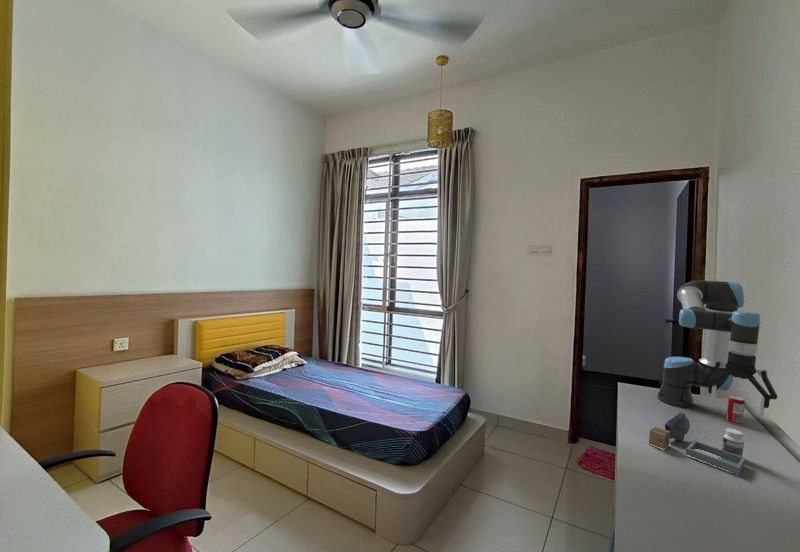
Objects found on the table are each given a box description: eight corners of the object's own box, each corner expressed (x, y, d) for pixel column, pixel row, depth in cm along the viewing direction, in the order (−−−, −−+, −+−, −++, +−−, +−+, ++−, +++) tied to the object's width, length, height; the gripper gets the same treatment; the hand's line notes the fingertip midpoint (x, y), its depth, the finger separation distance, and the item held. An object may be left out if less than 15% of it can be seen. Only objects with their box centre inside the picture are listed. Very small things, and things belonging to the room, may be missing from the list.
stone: (679, 447, 140) (682, 423, 140) (661, 441, 145) (663, 417, 144) (689, 437, 149) (691, 414, 148) (671, 431, 154) (673, 408, 153)
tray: (693, 447, 141) (694, 440, 141) (744, 466, 129) (745, 458, 129) (685, 456, 134) (686, 448, 134) (738, 476, 123) (739, 467, 123)
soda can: (731, 419, 169) (733, 394, 168) (745, 424, 164) (748, 399, 163) (723, 420, 167) (726, 395, 166) (737, 425, 162) (740, 400, 161)
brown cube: (654, 440, 145) (655, 426, 145) (668, 446, 141) (670, 431, 141) (648, 444, 142) (650, 430, 141) (663, 450, 138) (665, 435, 137)
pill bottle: (722, 450, 140) (724, 425, 139) (742, 457, 136) (745, 431, 135) (720, 455, 136) (723, 430, 135) (741, 462, 132) (744, 436, 131)
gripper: (696, 346, 141) (691, 399, 142) (789, 363, 121) (782, 424, 122) (702, 344, 145) (697, 395, 147) (792, 360, 125) (785, 419, 127)
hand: (736, 408), depth 134 cm, fingers open, 13 cm apart
